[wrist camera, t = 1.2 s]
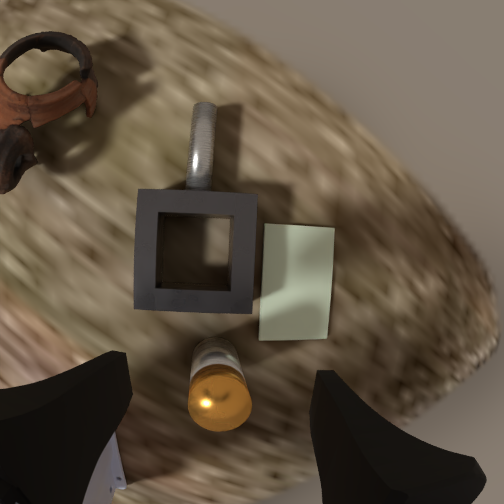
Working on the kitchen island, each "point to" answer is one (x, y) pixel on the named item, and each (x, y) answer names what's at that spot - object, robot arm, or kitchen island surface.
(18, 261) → the kitchen island surface
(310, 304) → the mat
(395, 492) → the robot arm
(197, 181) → the grey square with handle
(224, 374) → the metal cylinder
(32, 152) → the brown looped band
